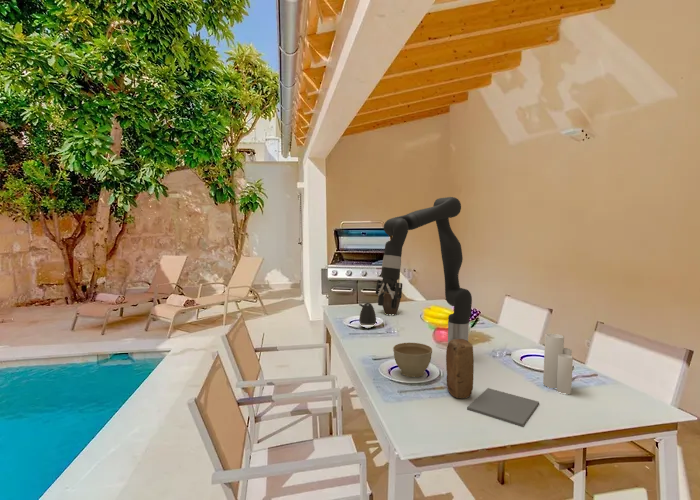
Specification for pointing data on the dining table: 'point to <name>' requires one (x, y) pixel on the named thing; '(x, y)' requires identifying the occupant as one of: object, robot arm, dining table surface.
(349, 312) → the dining table surface
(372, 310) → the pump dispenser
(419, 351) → the planter bowl
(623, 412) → the dining table surface
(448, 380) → the block
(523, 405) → the flat gray panel
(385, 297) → the plant pot
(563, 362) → the vase
